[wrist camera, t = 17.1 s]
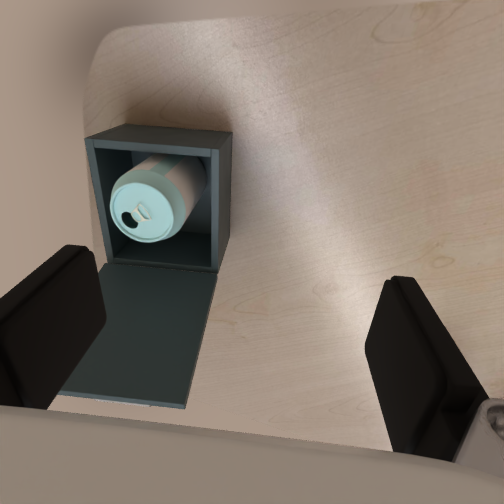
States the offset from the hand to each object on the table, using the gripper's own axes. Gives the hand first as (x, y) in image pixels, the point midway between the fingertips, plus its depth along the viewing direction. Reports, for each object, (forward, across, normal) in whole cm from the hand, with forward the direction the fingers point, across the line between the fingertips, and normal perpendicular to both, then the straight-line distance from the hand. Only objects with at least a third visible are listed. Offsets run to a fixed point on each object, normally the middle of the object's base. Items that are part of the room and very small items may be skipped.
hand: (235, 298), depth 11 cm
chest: (+30, +10, +7) cm, 33 cm away
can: (+30, +10, +6) cm, 32 cm away
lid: (+14, +10, +15) cm, 23 cm away
